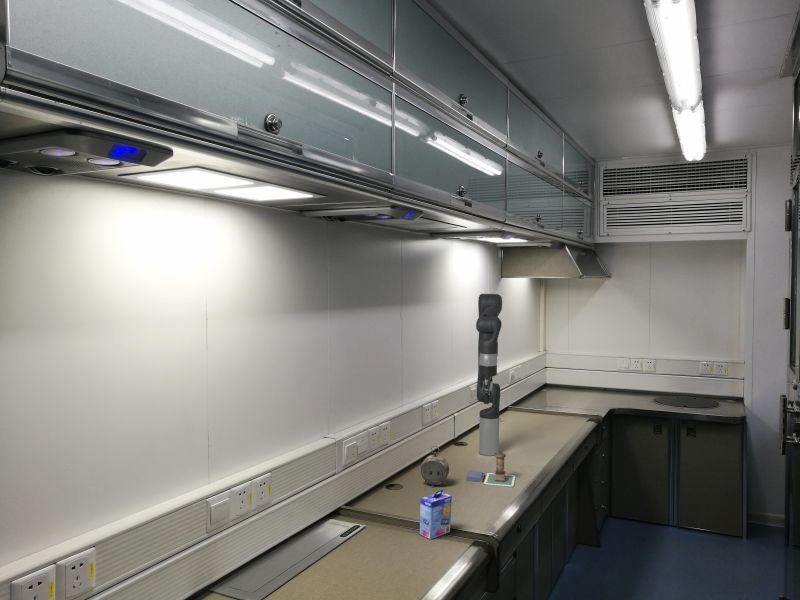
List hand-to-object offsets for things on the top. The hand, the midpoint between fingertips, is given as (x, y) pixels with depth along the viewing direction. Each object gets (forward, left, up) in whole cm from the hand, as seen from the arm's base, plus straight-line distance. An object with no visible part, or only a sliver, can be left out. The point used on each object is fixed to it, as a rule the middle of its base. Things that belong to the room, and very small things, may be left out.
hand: (487, 402), depth 269 cm
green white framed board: (+10, +7, -30) cm, 32 cm away
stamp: (+10, +6, -30) cm, 32 cm away
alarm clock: (+24, -18, -30) cm, 43 cm away
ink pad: (+10, -4, -30) cm, 32 cm away
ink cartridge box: (+70, -9, -30) cm, 77 cm away
